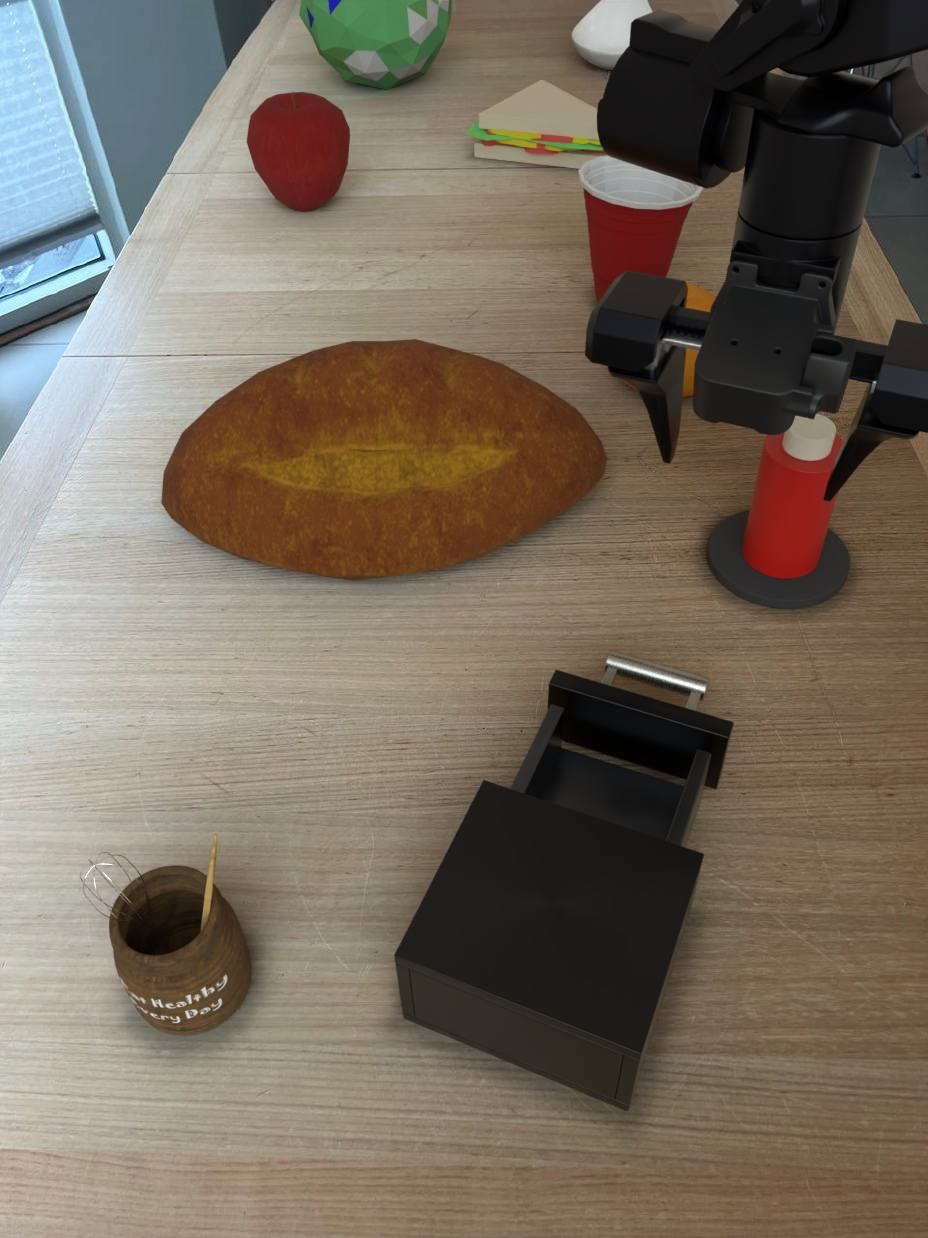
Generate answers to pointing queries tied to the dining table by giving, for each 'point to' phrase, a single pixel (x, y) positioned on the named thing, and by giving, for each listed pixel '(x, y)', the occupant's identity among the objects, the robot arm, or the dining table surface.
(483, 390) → the bread
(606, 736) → the drawer
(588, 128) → the sandwich
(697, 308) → the fruit
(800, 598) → the disc
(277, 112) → the apple
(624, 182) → the plastic cup
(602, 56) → the spoon rest
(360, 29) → the decorative sphere
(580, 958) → the cabinet
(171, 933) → the utensil holder
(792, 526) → the ketchup bottle
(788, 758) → the dining table surface
